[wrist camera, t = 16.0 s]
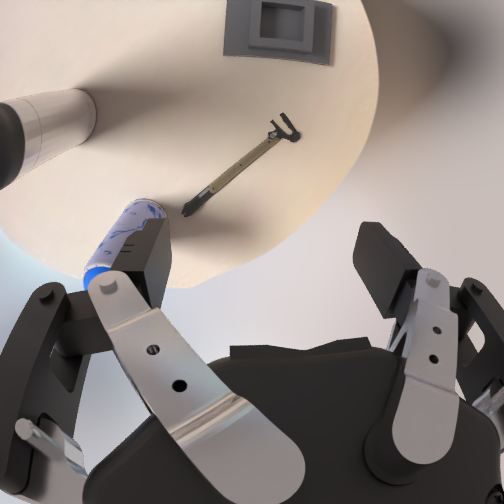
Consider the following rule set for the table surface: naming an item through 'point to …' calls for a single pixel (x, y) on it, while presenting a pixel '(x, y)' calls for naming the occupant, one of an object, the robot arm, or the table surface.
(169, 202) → the table surface
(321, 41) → the grey square socket stand
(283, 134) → the claw hammer
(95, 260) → the aerosol can
